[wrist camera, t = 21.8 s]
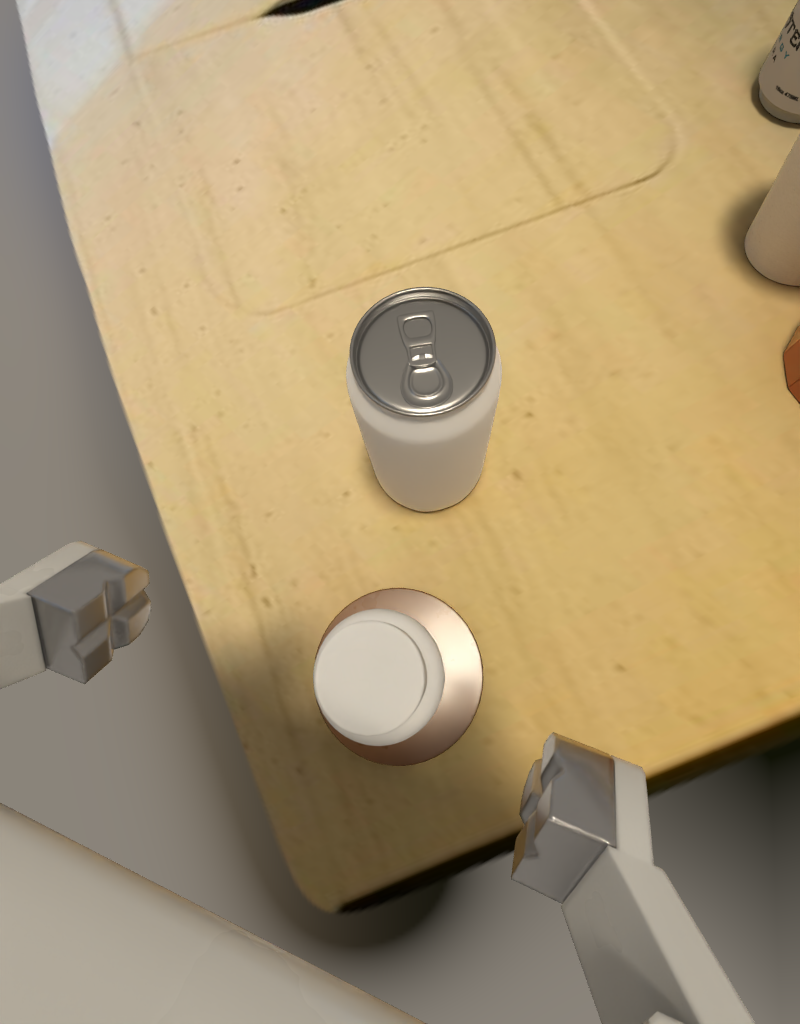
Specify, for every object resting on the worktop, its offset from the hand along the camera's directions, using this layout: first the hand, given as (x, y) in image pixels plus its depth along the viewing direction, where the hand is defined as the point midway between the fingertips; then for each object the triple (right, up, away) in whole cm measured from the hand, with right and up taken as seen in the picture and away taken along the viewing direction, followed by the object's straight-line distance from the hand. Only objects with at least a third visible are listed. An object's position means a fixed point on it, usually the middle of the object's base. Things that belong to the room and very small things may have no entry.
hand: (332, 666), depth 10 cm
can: (+3, +6, +22) cm, 23 cm away
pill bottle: (+1, -6, +19) cm, 19 cm away
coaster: (+1, -6, +19) cm, 20 cm away
